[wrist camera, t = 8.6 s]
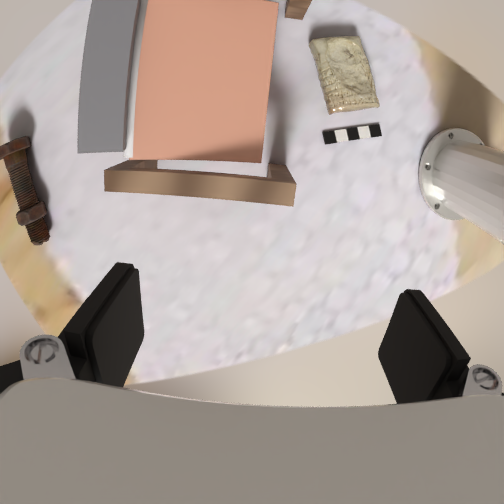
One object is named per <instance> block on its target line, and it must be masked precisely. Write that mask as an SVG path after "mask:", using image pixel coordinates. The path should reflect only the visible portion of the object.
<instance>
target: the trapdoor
mask: <svg viewBox="0 0 504 504" xmlns="http://www.w3.org/2000/svg"><path fill="white" fill-rule="evenodd" d="M278 5H279V3H276V2H271V1H265V0H92V4H91V9H90V14H89V20H88V26H87V32H86V39H85V46H84V53H83V62H82V71H81V82H80V95H79V112H78V153H96V152H123V151H124V153H123V157H124V158H129V160H209V161H233V162H251V163H261V160H262V151H263V141H264V132H265V123H266V114H267V105H268V96H269V87H270V78H271V68H272V59H273V50H274V41H275V32H276V23H277V14H278Z"/></svg>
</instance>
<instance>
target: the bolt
mask: <svg viewBox="0 0 504 504" xmlns="http://www.w3.org/2000/svg"><path fill="white" fill-rule="evenodd" d="M28 147H31V144H30V140H29V137H28V136H25V137H21V138H18V139H15V140H13V141H10V142H8V143H6V144H4V145H2V146H0V160H1V159H4V161H5V165H6V169H7V170H8V173H9V175H10V176H9V177H11V178H10V179H11V182H12V183H11V184H13V185H12V186H13V189H14V190H13V191H14V193H15V195H16V196H15V197H16V200H17V202H18V204H19V205H18V206H19V209H20V211H18V212H17V214H16V218H17V221H18V224H19V225H21V226H23V225H25V226H26V229H27V231H28V232H27V233H29V234H28V235H30V236H29V237H30V239H31V242H32V243H33V244H34V245H42V244H43V242H47V241H48V240H49V238H50V235H49V234H50V233H49V231H48V229H47V226H46V222H45V220H44V218H43V217H44V216H45V215H46V213H47V210H46V207H45V204H44V202H43V201H40V202H38V200H37V199H38V198H36V197H37V196H36V193H35V192H36V191H34V190H35V189H34V187H33V186H34V185H32V184H33V182H32V180H31V179H32V178H30V177H31V176H30V173H29V172H30V171H29V169H28V167H27V166H28V164H27V163H28V162H27V156H26V152H25V149H26V148H28Z"/></svg>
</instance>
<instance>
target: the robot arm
mask: <svg viewBox="0 0 504 504" xmlns="http://www.w3.org/2000/svg"><path fill="white" fill-rule="evenodd" d="M448 135H449V136H448ZM425 166H426V167H425ZM419 185H420V189H421V193H422V196H423V198H424V200H425V202H426V203H427V205H428V206H429V208H430V209H431V210H432V211H433V212H434V213H436V214H438V215H439V216H440V217H443V218H445V219H448V220H461V219H467V220H468V221H470V222H471V223H473V224H474V225H476V226H477V227H479V228H480V229H482V230H483V231H485V232H486V233H488V234H489V235H491V236H492V237H494V238H495V239H497V240H498V241H499V242H501V243H502V244H504V151H502V150H499V149H495V148H491V147H488V146H485V144H484V143H483V142H482V140H481V139H480V138H479V137H478V136H477V135H475V134H474V133H472V132H470V131H469V130H465V129H461V128H450V129H446V130H444V131H441V132H440V133H438V134H437V135H435V136H434V137H433V138H432V140H431V141H430V142H429V143H428V145H427V146H426V148H425V150H424V152H423V155H422V157H421V162H420V166H419ZM143 338H144V324H143V315H142V305H141V293H140V281H139V271H138V269H135V268H134V266H133V264H128V263H119V262H117V263H116V264H115V265H114V266H113V267H112V269H111V270H110V271H109V272H108V273H107V275H106V276H105V277H104V278H103V280H102V281H101V282H100V283H99V285H98V286H97V287H96V288H95V289H94V291H93V292H92V293H91V295H90V296H89V297H88V298H87V299H86V300H85V302H84V303H83V304H82V305H81V307H80V308H79V309H78V311H77V312H76V313H75V315H74V316H73V317H72V319H71V320H70V321H69V323H68V324H67V325H66V327H65V328H64V329H63V331H62V332H61V333H60V335H59V336H58V337H55V336H52V335H40V336H36V337H33V338H31V339H29V340H28V341H26V343H25V344H24V345H23V346H22V348H21V350H20V360H18V361H15V362H12V363H9V364H6V365H3V366H0V504H504V393H502V381H501V379H500V377H499V375H498V374H497V373H496V372H495V371H494V370H493V369H491V368H489V367H488V366H484V365H478V364H477V365H473V366H472V367H470V369H469V368H468V366H467V364H468V363H469V361H470V359H471V358H470V357H469V355H468V354H467V352H466V351H465V349H464V348H463V346H462V345H461V344H460V342H459V341H458V339H457V338H456V336H455V335H454V334H453V332H452V331H451V330H450V328H449V327H448V326H447V324H446V323H445V321H444V320H443V319H442V317H441V316H440V315H439V313H438V312H437V311H436V309H435V308H434V307H433V305H432V304H431V303H430V301H429V300H428V299H427V298H426V296H425V295H424V294H423V292H422V291H421V290H411V289H406V290H405V291H404V293H401V294H400V295H399V298H398V301H397V304H396V306H395V309H394V312H393V315H392V317H391V320H390V323H389V326H388V328H387V330H386V333H385V335H384V338H383V341H382V343H381V345H380V348H379V351H378V357H379V360H380V362H381V365H382V367H383V370H384V372H385V374H386V377H387V380H388V382H389V385H390V387H391V389H392V392H393V394H394V397H395V400H396V402H397V404H388V405H373V406H349V407H289V406H265V405H249V404H236V403H225V402H215V401H206V400H197V399H190V398H182V397H175V396H169V395H162V394H156V393H150V392H144V391H139V390H134V389H128V388H123V386H124V383H125V381H126V379H127V376H128V374H129V371H130V369H131V367H132V364H133V362H134V360H135V357H136V355H137V353H138V350H139V348H140V346H141V344H142V341H143Z"/></svg>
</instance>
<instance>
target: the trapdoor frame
mask: <svg viewBox="0 0 504 504" xmlns="http://www.w3.org/2000/svg"><path fill="white" fill-rule="evenodd" d="M311 1H312V0H287V3H286V11H285V18H293V19H300V20H302V19H303V17H304V15H305V13H306V11H307V9H308V7H309V5H310V3H311ZM104 185H105V191H108V192H128V193H145V194H161V195H175V196H189V197H201V198H213V199H225V200H235V201H246V202H256V203H266V204H275V205H284V206H293V205H294V198H295V191H296V182H295V181H294V179H293V177H292V175H291V174H290V172H289V170H288V168H287V167H286V165H279V164H270V163H269V165H268V173H267V177H258V176H248V175H238V174H226V173H214V172H201V171H186V170H169V169H157V160H127V161H125V162H122V163H120V164H118V165H115V166H113V167H110V168H108V169H106V170H104Z"/></svg>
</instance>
